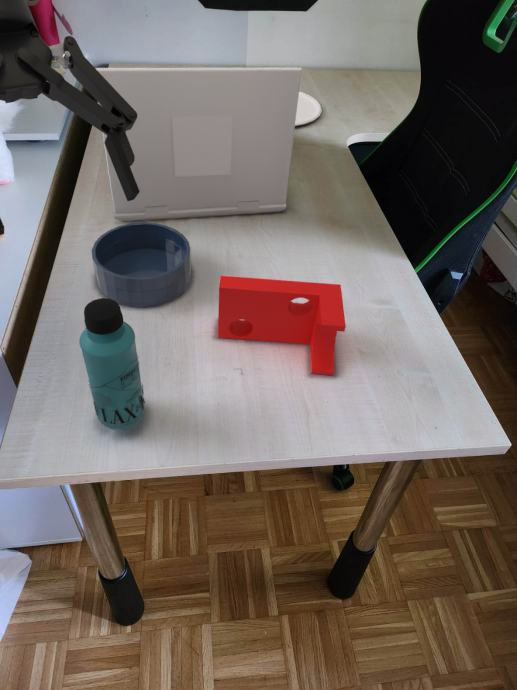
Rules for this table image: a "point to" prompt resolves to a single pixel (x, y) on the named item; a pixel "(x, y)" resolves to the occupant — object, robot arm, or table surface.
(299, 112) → the plate
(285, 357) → the table surface
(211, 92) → the laptop
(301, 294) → the bracket
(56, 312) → the table surface
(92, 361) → the beverage bottle
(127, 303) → the bowl
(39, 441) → the table surface
